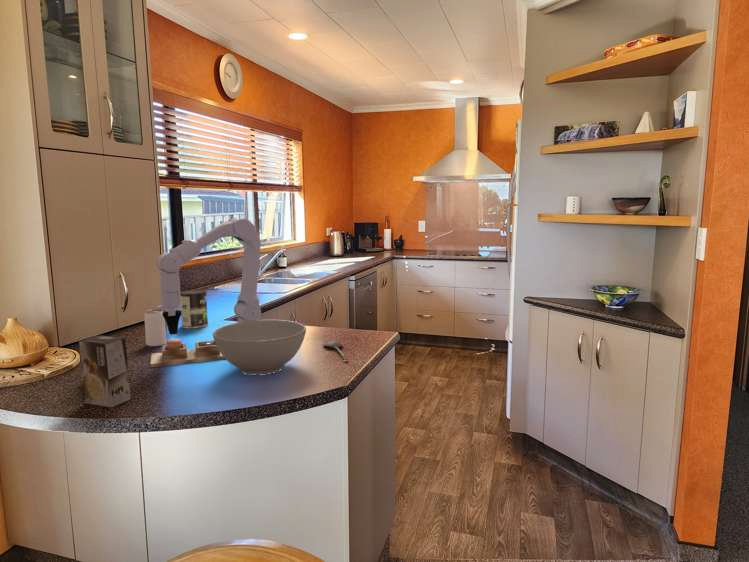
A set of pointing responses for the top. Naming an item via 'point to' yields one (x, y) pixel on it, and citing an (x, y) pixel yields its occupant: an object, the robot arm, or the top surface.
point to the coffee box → (105, 370)
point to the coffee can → (194, 309)
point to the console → (186, 355)
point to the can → (155, 328)
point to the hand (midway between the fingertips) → (173, 334)
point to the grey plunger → (206, 343)
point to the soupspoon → (335, 346)
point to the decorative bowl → (260, 344)
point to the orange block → (174, 344)
